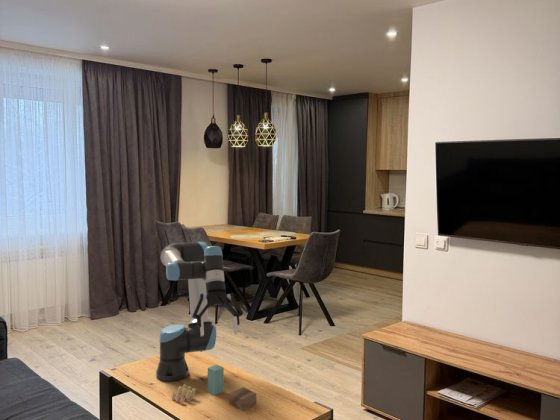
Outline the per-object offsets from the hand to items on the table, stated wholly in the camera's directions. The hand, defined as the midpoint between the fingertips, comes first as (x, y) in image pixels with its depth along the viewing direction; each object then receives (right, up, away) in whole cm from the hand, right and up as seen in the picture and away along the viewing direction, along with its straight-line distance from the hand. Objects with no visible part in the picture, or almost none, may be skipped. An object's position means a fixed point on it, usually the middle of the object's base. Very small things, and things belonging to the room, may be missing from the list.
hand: (219, 334), depth 191 cm
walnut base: (+8, -33, +15) cm, 38 cm away
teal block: (-5, -32, +26) cm, 42 cm away
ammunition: (-18, -33, +19) cm, 42 cm away
